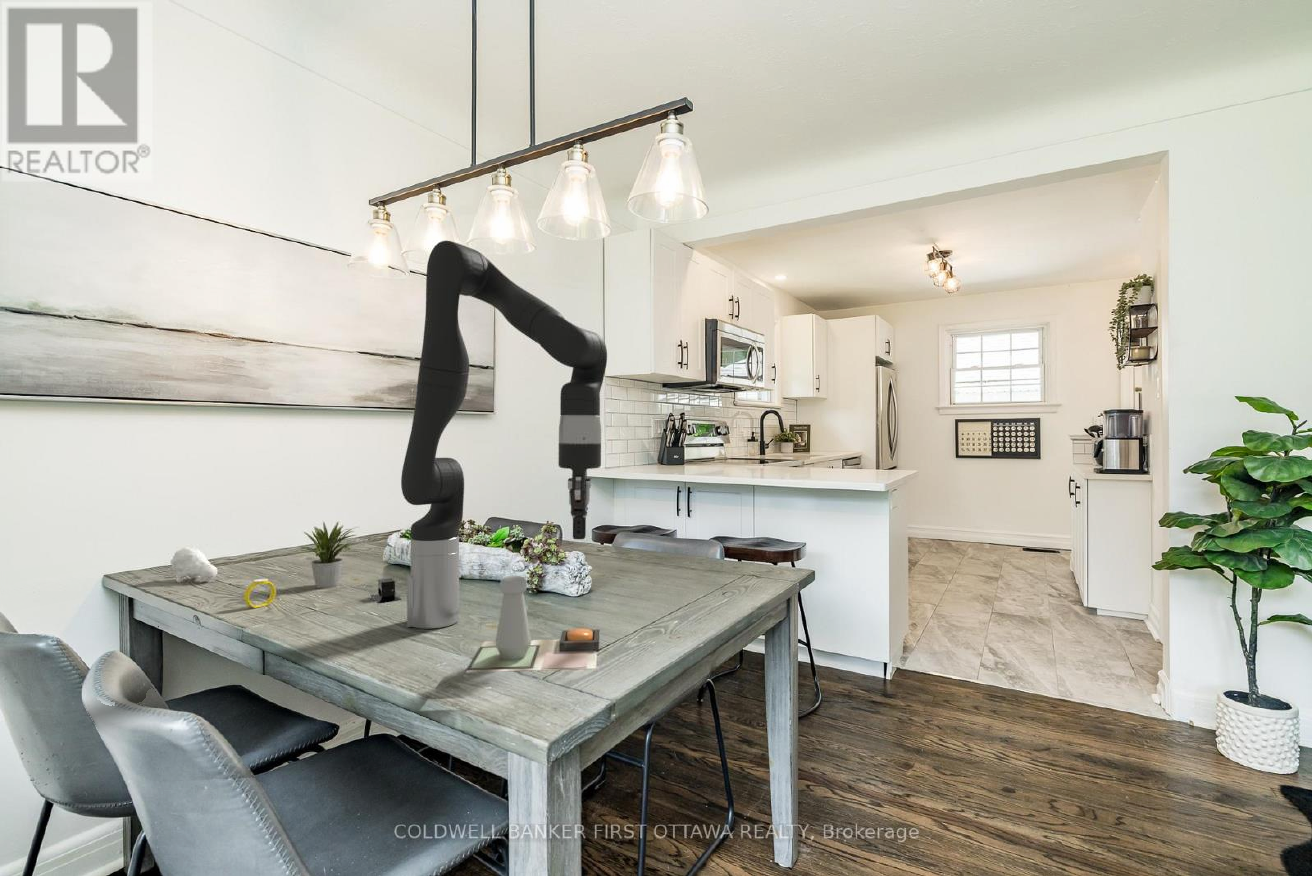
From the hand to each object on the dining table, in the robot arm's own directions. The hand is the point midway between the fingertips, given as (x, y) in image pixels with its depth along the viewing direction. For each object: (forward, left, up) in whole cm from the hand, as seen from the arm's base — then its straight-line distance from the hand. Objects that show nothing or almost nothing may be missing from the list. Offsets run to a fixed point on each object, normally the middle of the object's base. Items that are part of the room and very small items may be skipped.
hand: (579, 538), depth 107 cm
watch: (-72, +32, -20) cm, 81 cm away
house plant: (-65, +49, -20) cm, 83 cm away
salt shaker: (-10, -7, -18) cm, 22 cm away
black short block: (-47, +37, -20) cm, 63 cm away
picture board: (-7, -6, -19) cm, 21 cm away
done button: (0, -2, -18) cm, 18 cm away
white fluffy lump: (-102, +58, -20) cm, 119 cm away
